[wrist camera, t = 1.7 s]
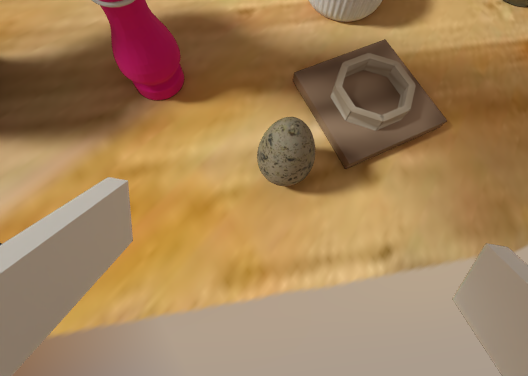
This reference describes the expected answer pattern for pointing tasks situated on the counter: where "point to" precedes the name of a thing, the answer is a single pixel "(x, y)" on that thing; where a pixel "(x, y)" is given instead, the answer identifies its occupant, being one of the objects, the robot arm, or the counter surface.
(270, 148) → the decorative egg
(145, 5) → the pepper mill
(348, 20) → the ramekin
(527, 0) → the container
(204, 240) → the counter surface
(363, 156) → the egg stand
